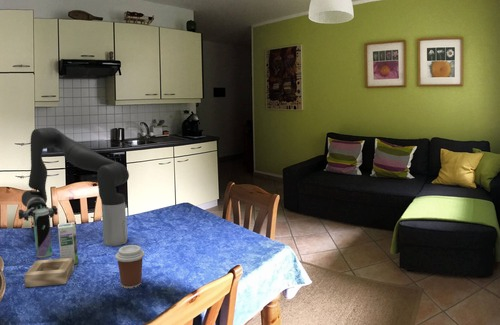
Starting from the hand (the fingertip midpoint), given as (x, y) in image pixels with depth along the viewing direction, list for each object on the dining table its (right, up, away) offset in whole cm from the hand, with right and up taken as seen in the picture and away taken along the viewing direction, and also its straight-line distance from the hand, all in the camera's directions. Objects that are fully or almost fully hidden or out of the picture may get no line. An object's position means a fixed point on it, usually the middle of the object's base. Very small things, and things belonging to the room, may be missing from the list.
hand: (39, 216), depth 158 cm
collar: (+18, -17, -26) cm, 36 cm away
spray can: (+6, -14, -8) cm, 17 cm away
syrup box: (+19, -15, -14) cm, 28 cm away
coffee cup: (+47, -18, -31) cm, 58 cm away
